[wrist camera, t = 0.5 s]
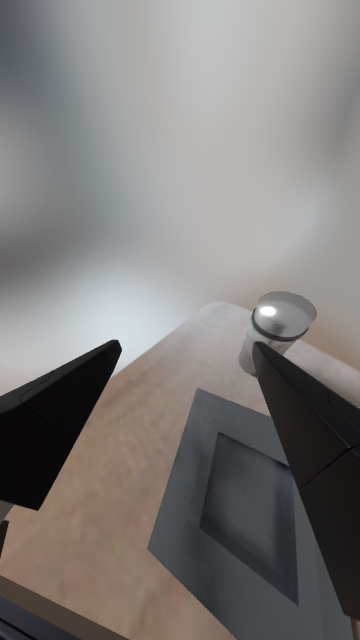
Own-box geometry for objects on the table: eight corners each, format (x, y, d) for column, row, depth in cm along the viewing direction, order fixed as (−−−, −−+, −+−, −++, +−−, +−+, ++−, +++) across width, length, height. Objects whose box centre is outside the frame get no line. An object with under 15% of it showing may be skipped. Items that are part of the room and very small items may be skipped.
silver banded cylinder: (277, 373, 21) (334, 321, 12) (245, 379, 22) (273, 333, 12) (261, 345, 25) (294, 286, 15) (233, 350, 25) (247, 296, 15)
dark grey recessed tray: (359, 744, 8) (430, 891, 6) (150, 542, 14) (136, 567, 11) (317, 437, 16) (338, 438, 14) (197, 389, 22) (195, 383, 19)
